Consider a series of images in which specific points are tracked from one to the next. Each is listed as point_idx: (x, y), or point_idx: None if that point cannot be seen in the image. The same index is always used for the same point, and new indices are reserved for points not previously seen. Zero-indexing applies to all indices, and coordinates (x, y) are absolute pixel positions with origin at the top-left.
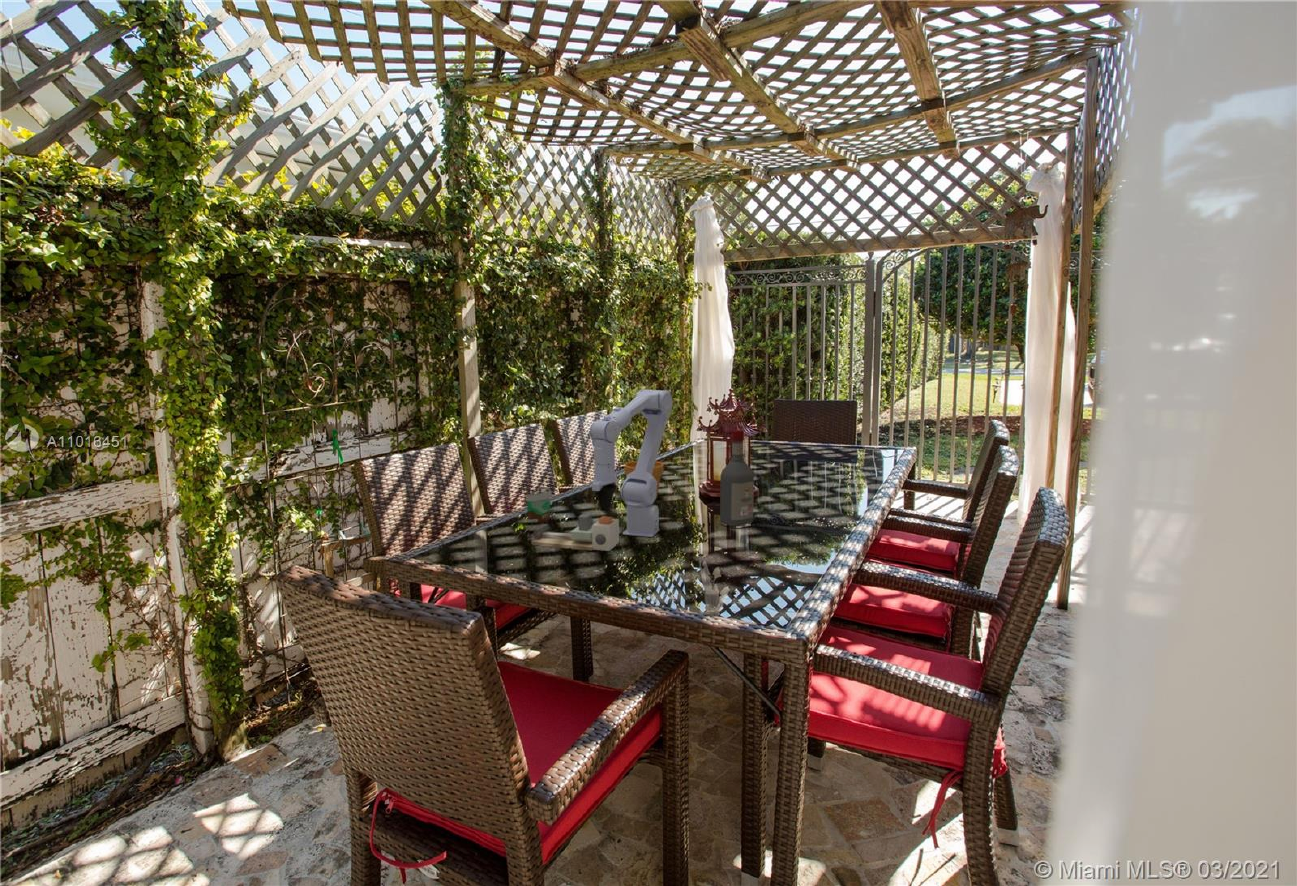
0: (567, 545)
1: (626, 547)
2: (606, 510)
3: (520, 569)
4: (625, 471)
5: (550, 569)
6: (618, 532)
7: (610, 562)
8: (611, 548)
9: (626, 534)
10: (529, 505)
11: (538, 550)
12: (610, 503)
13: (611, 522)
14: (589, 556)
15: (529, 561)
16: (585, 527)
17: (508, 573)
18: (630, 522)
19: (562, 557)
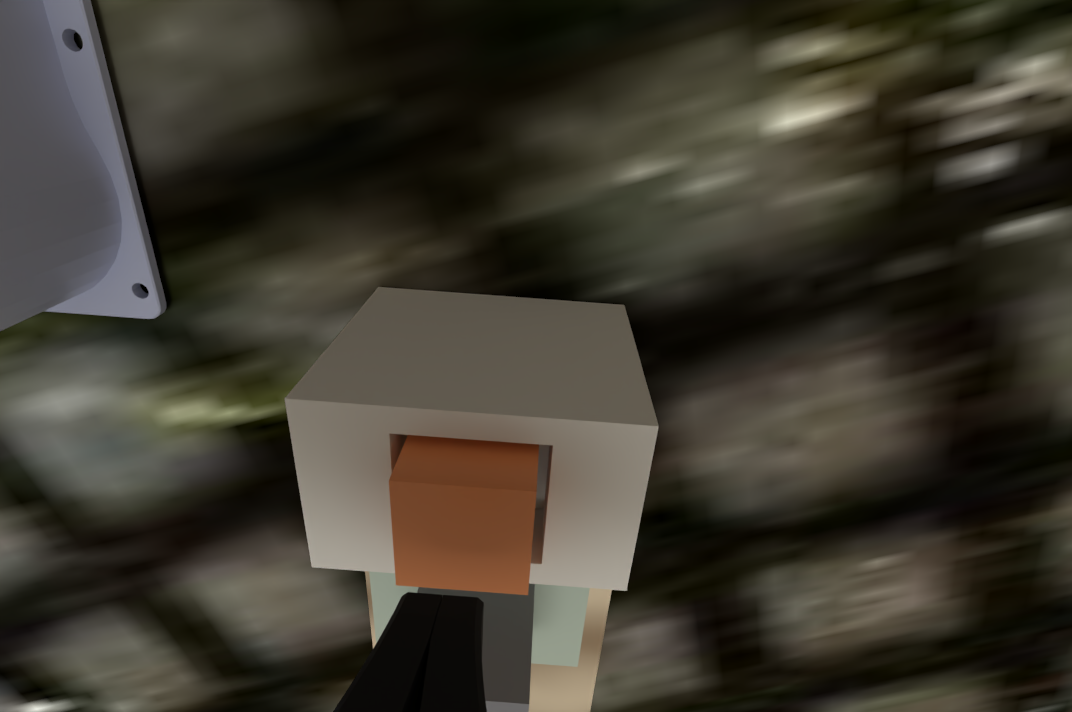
0: (610, 591)
1: (491, 182)
2: (482, 624)
3: (1010, 678)
4: None
5: (1039, 557)
6: (357, 325)
7: (932, 215)
8: (570, 303)
9: (157, 276)
10: None
11: (671, 685)
12: (393, 695)
13: (440, 443)
14: (771, 411)
15: (871, 676)
16: (532, 612)
17: (1069, 704)
18: (29, 281)
19: (797, 556)
